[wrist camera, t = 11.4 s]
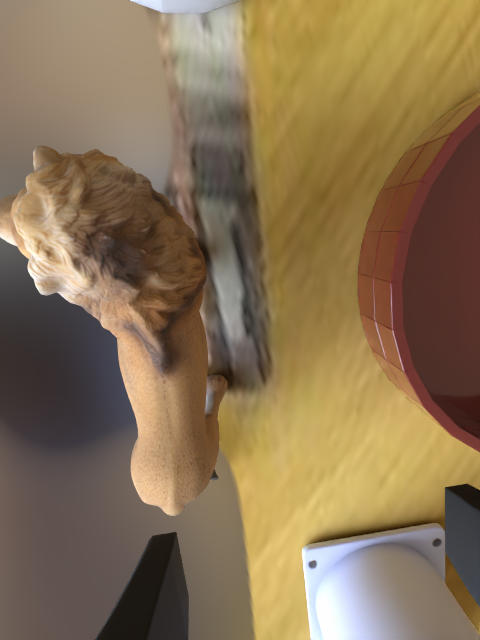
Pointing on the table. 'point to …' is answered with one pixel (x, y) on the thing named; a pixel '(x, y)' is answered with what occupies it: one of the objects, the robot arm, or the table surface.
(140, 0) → the donut
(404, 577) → the robot arm
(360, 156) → the table surface
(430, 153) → the bowl
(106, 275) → the lion figurine
